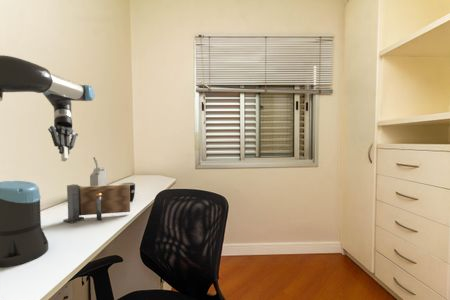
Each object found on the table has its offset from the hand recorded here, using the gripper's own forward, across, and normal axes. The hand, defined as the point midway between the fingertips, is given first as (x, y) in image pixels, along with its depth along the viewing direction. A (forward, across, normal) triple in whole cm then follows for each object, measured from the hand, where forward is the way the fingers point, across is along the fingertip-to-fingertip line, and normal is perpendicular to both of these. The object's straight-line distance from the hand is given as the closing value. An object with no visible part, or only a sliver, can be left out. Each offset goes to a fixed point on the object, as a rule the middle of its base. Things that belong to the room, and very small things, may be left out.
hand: (64, 159), depth 112 cm
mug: (+12, -40, -11) cm, 43 cm away
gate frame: (+27, -10, -6) cm, 29 cm away
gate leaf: (+25, -18, -2) cm, 30 cm away
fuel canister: (-1, -36, -31) cm, 48 cm away
